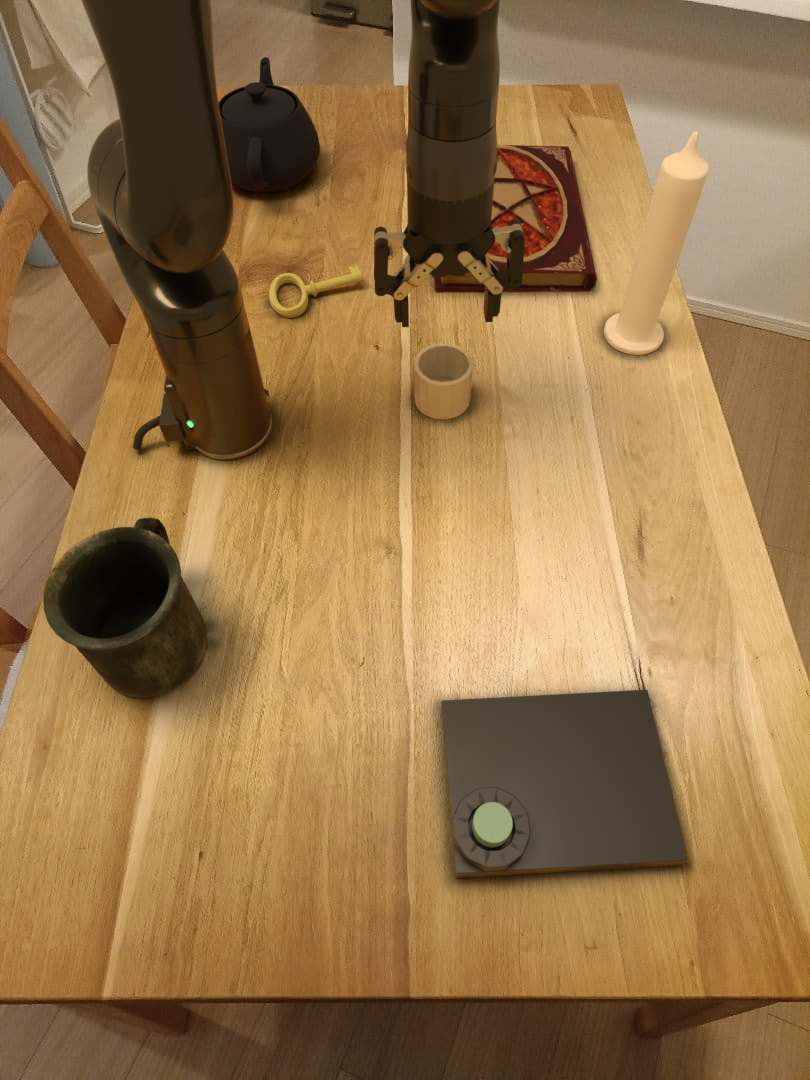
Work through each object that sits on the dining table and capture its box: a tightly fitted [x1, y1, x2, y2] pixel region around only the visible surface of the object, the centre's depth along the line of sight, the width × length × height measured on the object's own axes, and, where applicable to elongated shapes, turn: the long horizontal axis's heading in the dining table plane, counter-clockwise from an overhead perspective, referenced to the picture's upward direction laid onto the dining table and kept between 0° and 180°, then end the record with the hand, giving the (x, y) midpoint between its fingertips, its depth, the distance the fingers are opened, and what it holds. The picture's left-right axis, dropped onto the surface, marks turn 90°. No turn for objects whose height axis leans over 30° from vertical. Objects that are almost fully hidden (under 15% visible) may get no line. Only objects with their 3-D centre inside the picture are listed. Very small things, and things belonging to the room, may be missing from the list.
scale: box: [440, 689, 688, 879], centre depth 63 cm, size 18×14×4 cm
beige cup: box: [413, 342, 474, 420], centre depth 86 cm, size 6×6×6 cm
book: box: [433, 144, 598, 292], centre depth 104 cm, size 28×21×5 cm
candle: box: [603, 131, 710, 356], centre depth 83 cm, size 7×7×25 cm
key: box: [268, 264, 364, 319], centre depth 98 cm, size 7×12×2 cm, turn 123°
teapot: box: [218, 56, 321, 194], centre depth 108 cm, size 25×16×12 cm, turn 1°
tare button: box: [472, 802, 513, 848], centre depth 59 cm, size 3×3×2 cm
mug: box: [42, 517, 208, 698], centre depth 67 cm, size 11×15×12 cm
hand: (446, 319), depth 79 cm, fingers open, 8 cm apart
